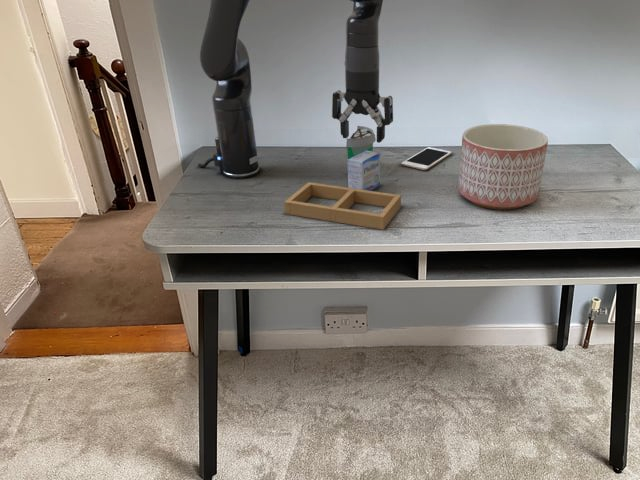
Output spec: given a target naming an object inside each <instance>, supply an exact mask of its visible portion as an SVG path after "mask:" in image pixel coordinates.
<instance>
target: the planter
mask: <svg viewBox="0 0 640 480" xmlns="http://www.w3.org/2000/svg"><path fill="white" fill-rule="evenodd" d="M461 137H462V138H461V149H460V162H459V174H458V192H459V194H460V195H461V196H462V197H463V198H465V199H466V200H468V201H469V202H470V203H472V204H474V205H477V206H479V207H482V208H486V209H492V210H514V209H518V208H522V207H524V206H526V205H530V204H531V203H534V202H535V201H537V199H538V198H539V196H540V191H541V186H542V180H543V179H542V178H543V175H544V174H543V173H544V169H545V168H544V167H545V161H546V156H547V149H548V144H549V139H548V136H547V135H546V134H545V133H543V132H541V131H539V130H537V129H534V128H530V127H527V126H522V125H515V124H505V123H489V124H488V123H487V124H480V125H476V126H472V127H469V128H467V129H465V130H464V131H463V133H462V136H461Z"/></svg>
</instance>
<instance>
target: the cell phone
mask: <svg viewBox="0 0 640 480" xmlns="http://www.w3.org/2000/svg"><path fill="white" fill-rule="evenodd" d="M451 155H452V151H451V150H446V149H442V148H441V149H440V148H436V147H432V146H428V147H427V146H426V148H423V149H422V150H420V151H419V152H417V153H415V154H414V155H411V157H409V158H407V159H405V160H404V161H402V162H401V166H403V167H408V168H412V169H418V170H420V171H427V170H429V169H430V168H432V167H433V166H435V165H436V164H438V163H439V162H441V161H443V160H444V159H446V158H447V157H449V156H451Z"/></svg>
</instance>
